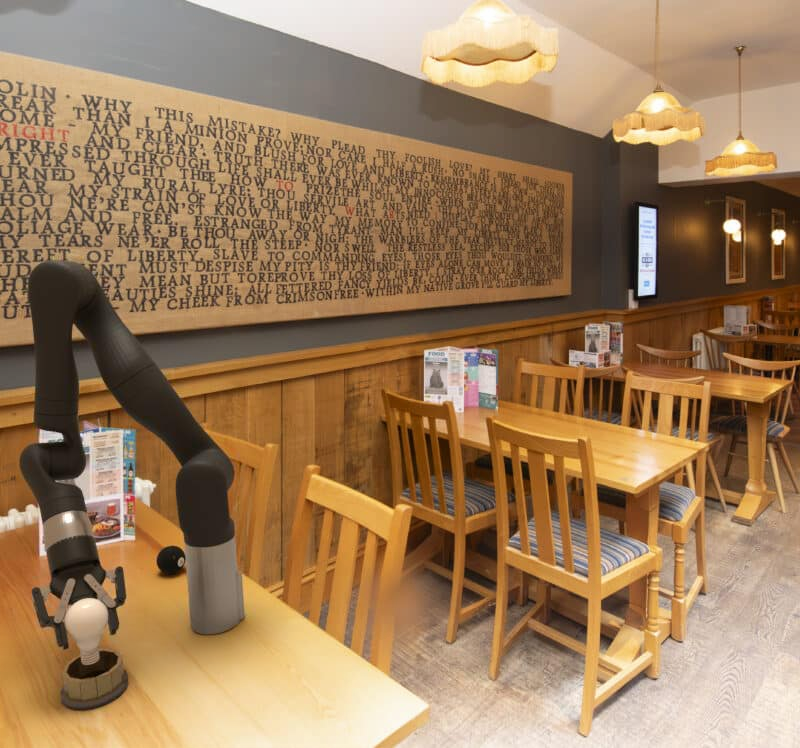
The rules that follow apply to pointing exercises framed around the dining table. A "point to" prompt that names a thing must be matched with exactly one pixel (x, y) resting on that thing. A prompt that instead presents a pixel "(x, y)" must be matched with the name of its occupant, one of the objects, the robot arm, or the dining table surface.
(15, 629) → the dining table surface
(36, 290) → the robot arm
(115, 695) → the bulb holder
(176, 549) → the billiard ball
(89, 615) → the lightbulb
